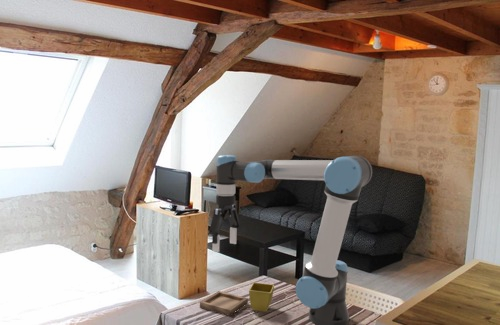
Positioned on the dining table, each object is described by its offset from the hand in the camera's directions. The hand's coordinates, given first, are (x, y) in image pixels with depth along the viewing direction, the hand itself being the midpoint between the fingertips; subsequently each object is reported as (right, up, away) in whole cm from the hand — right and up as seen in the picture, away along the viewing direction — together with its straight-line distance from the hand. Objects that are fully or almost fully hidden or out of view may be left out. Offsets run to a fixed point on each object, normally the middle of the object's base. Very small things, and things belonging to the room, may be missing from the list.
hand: (224, 247), depth 185 cm
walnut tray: (0, -24, +2) cm, 24 cm away
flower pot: (+14, -25, 0) cm, 29 cm away
